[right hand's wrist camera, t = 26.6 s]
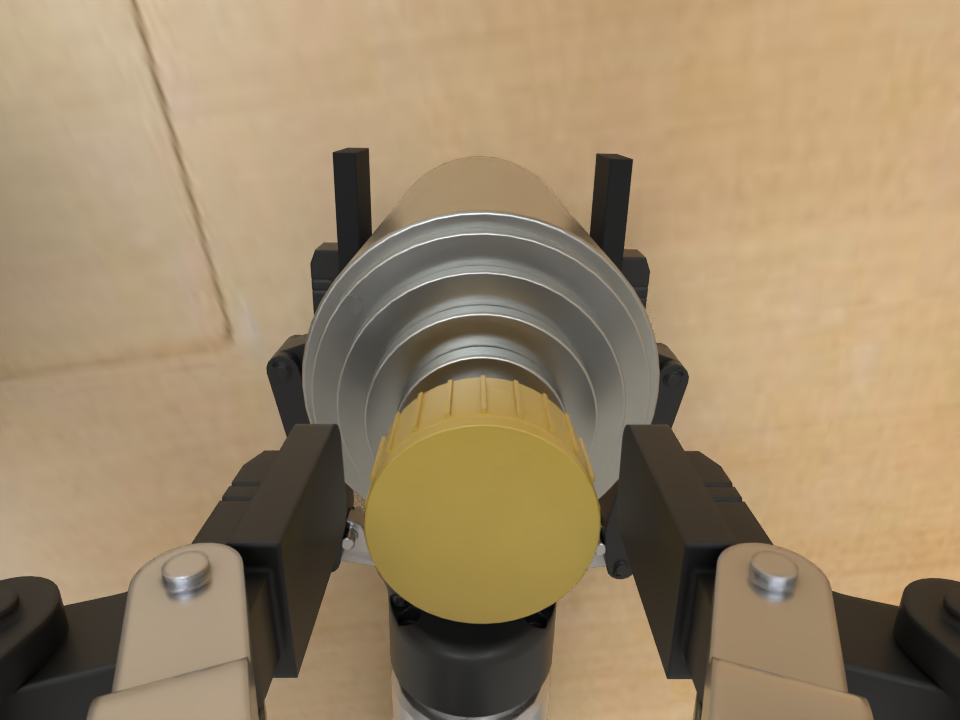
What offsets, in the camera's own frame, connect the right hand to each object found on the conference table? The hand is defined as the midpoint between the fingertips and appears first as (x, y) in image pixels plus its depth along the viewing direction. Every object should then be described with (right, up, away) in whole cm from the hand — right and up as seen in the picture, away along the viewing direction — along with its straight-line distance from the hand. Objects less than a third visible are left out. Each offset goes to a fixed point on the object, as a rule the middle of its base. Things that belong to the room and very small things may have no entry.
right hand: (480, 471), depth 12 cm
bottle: (0, +7, +19) cm, 20 cm away
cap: (0, -1, -1) cm, 1 cm away
